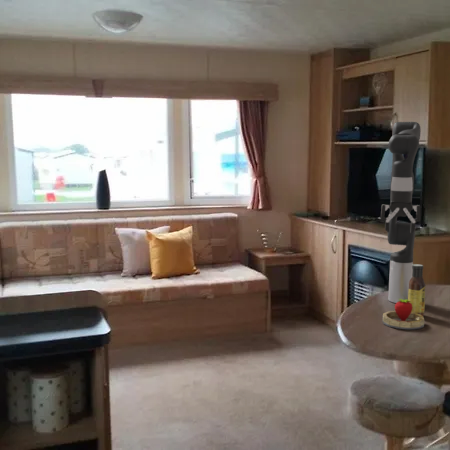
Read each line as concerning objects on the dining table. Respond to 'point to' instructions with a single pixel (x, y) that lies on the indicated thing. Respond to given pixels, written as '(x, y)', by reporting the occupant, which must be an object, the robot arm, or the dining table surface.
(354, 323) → the dining table surface
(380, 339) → the dining table surface
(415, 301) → the sauce bottle
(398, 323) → the tan rimmed round bowl
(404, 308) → the strawberry
